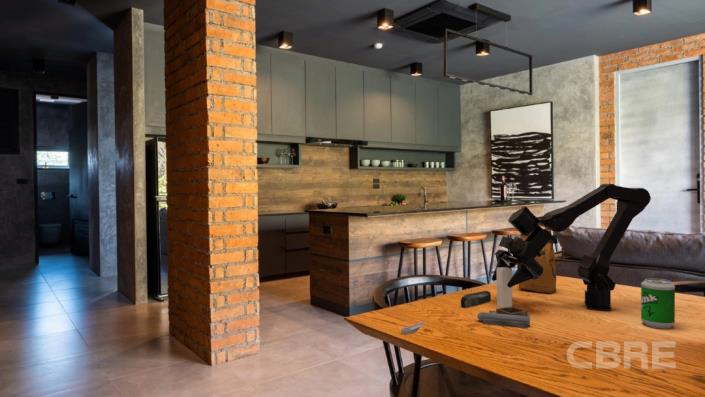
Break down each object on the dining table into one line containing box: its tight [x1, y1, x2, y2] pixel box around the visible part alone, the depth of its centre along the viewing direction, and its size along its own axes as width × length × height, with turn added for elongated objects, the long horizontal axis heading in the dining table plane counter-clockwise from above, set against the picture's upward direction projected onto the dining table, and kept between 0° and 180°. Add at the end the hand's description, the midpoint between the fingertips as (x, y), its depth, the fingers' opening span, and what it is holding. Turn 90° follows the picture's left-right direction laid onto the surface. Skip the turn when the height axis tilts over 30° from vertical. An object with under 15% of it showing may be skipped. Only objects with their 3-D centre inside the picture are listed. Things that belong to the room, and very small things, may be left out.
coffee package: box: [518, 229, 557, 294], centre depth 166 cm, size 10×12×22 cm
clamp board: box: [482, 305, 531, 329], centre depth 128 cm, size 11×14×4 cm
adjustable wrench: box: [400, 320, 427, 335], centre depth 130 cm, size 25×6×2 cm, turn 125°
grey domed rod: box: [477, 311, 531, 327], centre depth 124 cm, size 13×2×2 cm, turn 66°
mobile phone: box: [460, 290, 492, 309], centre depth 144 cm, size 5×3×15 cm
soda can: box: [640, 277, 676, 330], centre depth 125 cm, size 8×8×12 cm
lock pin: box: [496, 267, 513, 308], centre depth 140 cm, size 3×3×13 cm
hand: (500, 283), depth 140 cm, fingers open, 9 cm apart
